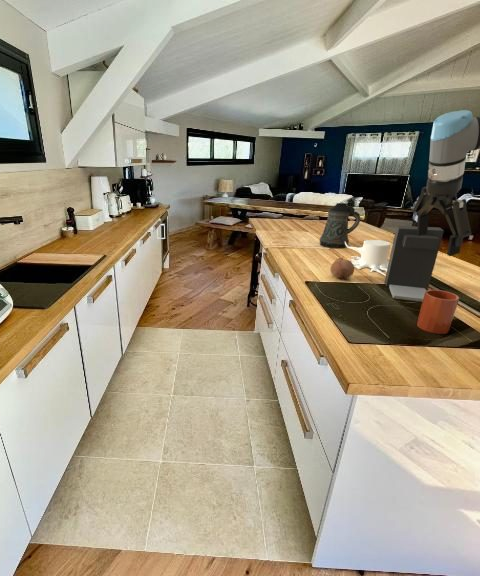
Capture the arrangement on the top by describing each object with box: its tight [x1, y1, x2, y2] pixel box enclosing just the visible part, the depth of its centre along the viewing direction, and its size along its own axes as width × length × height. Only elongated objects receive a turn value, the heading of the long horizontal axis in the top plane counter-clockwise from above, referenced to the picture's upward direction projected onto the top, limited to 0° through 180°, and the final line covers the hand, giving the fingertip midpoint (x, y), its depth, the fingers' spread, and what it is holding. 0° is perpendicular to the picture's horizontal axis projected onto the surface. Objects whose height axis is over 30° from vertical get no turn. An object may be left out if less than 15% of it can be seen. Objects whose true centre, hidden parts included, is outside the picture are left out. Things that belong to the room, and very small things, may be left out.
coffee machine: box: [384, 225, 445, 303], centre depth 118 cm, size 14×18×24 cm
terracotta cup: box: [416, 289, 460, 335], centre depth 94 cm, size 8×8×11 cm
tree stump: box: [345, 239, 392, 277], centre depth 153 cm, size 28×28×11 cm
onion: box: [329, 257, 355, 281], centre depth 137 cm, size 10×9×10 cm
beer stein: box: [319, 202, 361, 249], centre depth 187 cm, size 16×19×25 cm
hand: (436, 243), depth 95 cm, fingers open, 13 cm apart
